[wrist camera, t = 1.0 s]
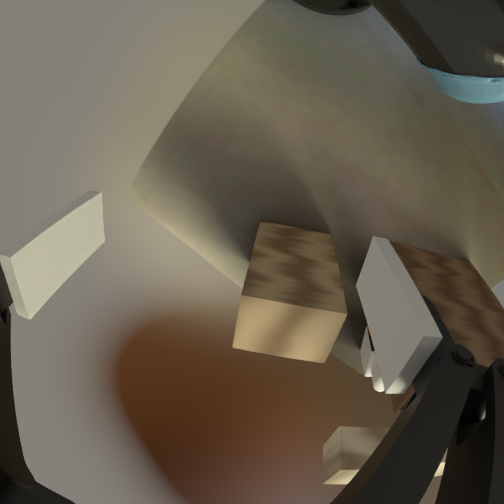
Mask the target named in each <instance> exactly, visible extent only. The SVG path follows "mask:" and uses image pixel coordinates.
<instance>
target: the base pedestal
mask: <svg viewBox="0 0 504 504" xmlns="http://www.w3.org/2000/svg"><path fill="white" fill-rule="evenodd" d="M346 317H347V308H346V303H345V297H344V292H343V286H342V281H341V276H340V271H339V266H338V261H337V256H336V252H335V247H334V242H333V238H332V235H329V234H325V233H320V232H315V231H310V230H306V229H301V228H296V227H291V226H286V225H281V224H276V223H271V222H266V221H260V224H259V228H258V232H257V236H256V239H255V243H254V247H253V251H252V255H251V259H250V263H249V267H248V271H247V275H246V279H245V282H244V286H243V291H242V294H241V300H240V306H239V312H238V318H237V324H236V330H235V336H234V342H233V348H238V349H243V350H248V351H253V352H259V353H264V354H270V355H276V356H281V357H287V358H293V359H300V360H306V361H313V362H320V363H325V361H326V358H327V357H328V355H329V353H330V351H331V349H332V347H333V345H334V342H335V340H336V338H337V336H338V334H339V332H340V330H341V328H342V325H343V323H344V321H345V319H346Z"/></svg>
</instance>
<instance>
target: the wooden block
mask: <svg viewBox="0 0 504 504" xmlns="http://www.w3.org/2000/svg"><path fill="white" fill-rule="evenodd" d="M389 429H390V428H367V427H366V428H365V427H343V426H340V427H339V428H338V429H337V430H336V431H335V432H334V434H333V435H332V436H331V437H330V438H329V439H328V441H327V442H326V443H325V444H324V445H323V484H348V483H349V482H350V481H351V479H352V478H353V477H354V476H355V475H356V473H357V472H358V471H359V470H360V469H361V467H362V466H363V465H364V463H365V462H366V461H367V460H368V458H369V457H370V456H371V454H372V453H373V452H374V450H375V449H376V448H377V446H378V445H379V444H380V442H381V441H382V439H383V438H384V437H385V435H386V434H387V432H388V431H389ZM447 450H448V448H447ZM447 450H446V452H445V454H444V457H443V459H442V461H441V463H440V465H439V467H438V469H437V471H436V473H435V475H434V476H438V475H443V470H444V465H445V460H446V455H447Z"/></svg>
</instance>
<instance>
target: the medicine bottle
mask: <svg viewBox="0 0 504 504" xmlns="http://www.w3.org/2000/svg"><path fill="white" fill-rule="evenodd" d="M360 351H361V357H362V364H363V370H364V376H365V377H371V376H372V380H373V385H374V389H375V390H376V391H378V392H381V393H385V390H384V386H383V381H382V377H381V373H380V369H379V365H378V361H377V357H376V353H375V349H374V346H373V342H372V338H371V335H370V331H369V327H368V326H366V329H365V334H364V338H363V342H362V346H361V350H360Z"/></svg>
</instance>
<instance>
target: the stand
mask: <svg viewBox="0 0 504 504" xmlns="http://www.w3.org/2000/svg"><path fill="white" fill-rule="evenodd" d="M390 244H391V245H392V247H393V248H394V250H395V252H396V253H397V255H398V257H399V258H400V260H401V262H402V263H403V265H404V267H405V268H406V270H407V272H408V273H409V275H410V277H411V279H412V280H413V282H414V284H415V286H416V287H417V289H418V291H419V293H420V294H421V296H426V297H427V298H428V299H429V300H430V301H431V302H432V303H433V304H434V305H435V307H436V309H437V311H438V313H439V315H440V316H441V318H442V320H443V321H442V322H444V324H445V326H446V328H447V329H448V331H449V333H450V335H451V337H452V339H453V341H454V343H455V344H460V345H462V346H464V347H466V348H467V349H468V350H469V351H470V352H471V353H472V354H473V355H474V357H475V360H476V364H480V365H483V366H486V367H489V366H490V365H491V364H492V362H493V361H494V360H495V359H496V358H502V359H504V308H503V307H502V305H501V304H500V302H499V301H498V299H497V298H496V296H495V295H494V293H493V292H492V291H491V289H490V288H489V286H488V285H487V284H486V282H485V281H484V279H483V278H482V277H481V275H480V274H479V273H478V271H477V270H476V269H475V268H474V266H473V265H472V264H471V262H468V261H464V260H460V259H457V258H453V257H449V256H445V255H441V254H437V253H433V252H429V251H425V250H421V249H417V248H413V247H409V246H405V245H401V244H397V243H392V242H390ZM414 392H415V391H414V387H413V384H412V383H411V385H410V386H409V387H408V389H407V390H406V391H405V393H404V394H391V398H392V404H393V410H394V416H395V420H396V419H397V417H398V416H399V414H400V413H401V410H400V409H401V408H402V406H403V405H404V404H405V403H406V402H407V400H408V399H409V398H410V397H411V395H412V394H413V393H414Z"/></svg>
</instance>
